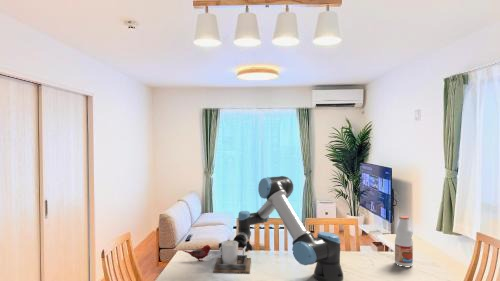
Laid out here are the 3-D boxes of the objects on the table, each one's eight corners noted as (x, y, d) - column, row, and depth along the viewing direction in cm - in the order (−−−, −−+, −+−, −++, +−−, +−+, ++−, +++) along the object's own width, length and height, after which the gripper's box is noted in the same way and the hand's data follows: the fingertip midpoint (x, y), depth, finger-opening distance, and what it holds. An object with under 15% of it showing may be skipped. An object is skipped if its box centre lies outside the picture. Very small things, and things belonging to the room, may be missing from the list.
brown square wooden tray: (250, 259, 200) (250, 253, 200) (249, 273, 180) (249, 267, 180) (218, 259, 201) (218, 253, 201) (213, 272, 181) (213, 266, 181)
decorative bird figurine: (211, 262, 195) (211, 246, 195) (181, 261, 197) (181, 244, 197) (212, 261, 198) (212, 244, 198) (183, 259, 200) (183, 243, 200)
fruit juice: (401, 260, 199) (401, 213, 198) (416, 265, 191) (416, 217, 190) (391, 263, 194) (391, 215, 193) (406, 269, 186) (406, 219, 185)
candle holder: (217, 264, 190) (217, 243, 190) (228, 259, 198) (228, 239, 198) (231, 268, 184) (231, 246, 184) (241, 262, 193) (241, 242, 192)
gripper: (260, 247, 206) (253, 259, 185) (221, 244, 211) (210, 256, 190) (260, 235, 206) (253, 246, 185) (221, 232, 211) (210, 243, 190)
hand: (231, 251), depth 188 cm, fingers open, 13 cm apart
